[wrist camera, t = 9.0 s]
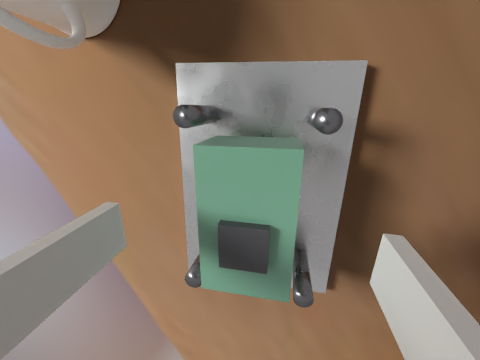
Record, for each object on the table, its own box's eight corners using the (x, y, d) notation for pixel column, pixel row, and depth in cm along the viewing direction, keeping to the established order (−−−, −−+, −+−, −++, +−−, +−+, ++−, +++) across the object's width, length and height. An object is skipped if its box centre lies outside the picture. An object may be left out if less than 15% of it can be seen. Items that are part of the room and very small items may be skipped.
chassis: (181, 65, 18) (134, 46, 13) (363, 63, 16) (404, 38, 10) (192, 264, 25) (164, 310, 19) (323, 285, 22) (336, 345, 17)
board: (216, 135, 16) (188, 146, 12) (299, 138, 15) (305, 151, 11) (219, 249, 20) (198, 294, 15) (288, 258, 19) (289, 310, 14)
